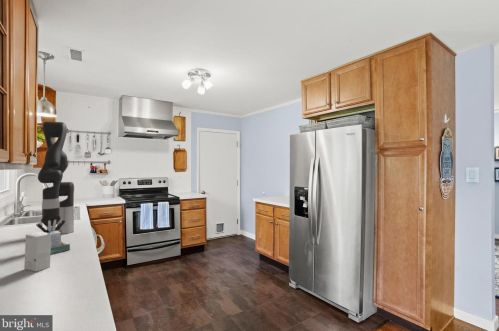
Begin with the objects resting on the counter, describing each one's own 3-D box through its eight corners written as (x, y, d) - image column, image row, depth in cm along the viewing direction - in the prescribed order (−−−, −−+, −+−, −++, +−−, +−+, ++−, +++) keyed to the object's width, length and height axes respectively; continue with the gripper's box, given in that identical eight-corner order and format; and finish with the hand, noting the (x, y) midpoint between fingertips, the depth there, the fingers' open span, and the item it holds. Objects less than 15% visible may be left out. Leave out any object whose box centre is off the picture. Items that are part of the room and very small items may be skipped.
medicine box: (61, 249, 137) (61, 232, 137) (50, 251, 134) (50, 234, 134) (58, 246, 143) (58, 230, 143) (48, 248, 140) (48, 231, 140)
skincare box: (23, 269, 112) (23, 234, 112) (39, 264, 118) (39, 231, 118) (36, 272, 109) (36, 236, 109) (51, 267, 115) (51, 232, 115)
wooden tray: (34, 246, 145) (34, 240, 145) (53, 242, 152) (53, 237, 152) (48, 254, 131) (48, 248, 131) (69, 250, 138) (69, 244, 138)
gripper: (37, 209, 134) (37, 243, 134) (67, 206, 145) (68, 237, 145) (33, 208, 139) (33, 241, 139) (62, 205, 149) (63, 235, 149)
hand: (51, 239), depth 142 cm, fingers closed
